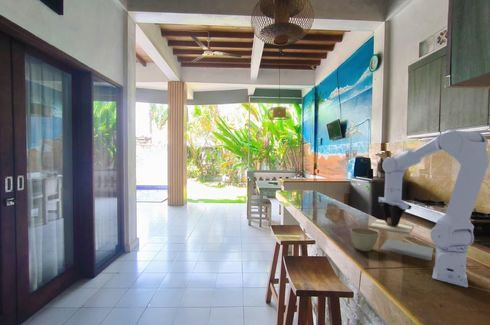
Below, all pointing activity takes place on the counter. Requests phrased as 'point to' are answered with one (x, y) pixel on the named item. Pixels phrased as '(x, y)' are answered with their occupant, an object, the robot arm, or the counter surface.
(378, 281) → the counter surface
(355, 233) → the beige bowl
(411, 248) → the mat
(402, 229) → the lid
